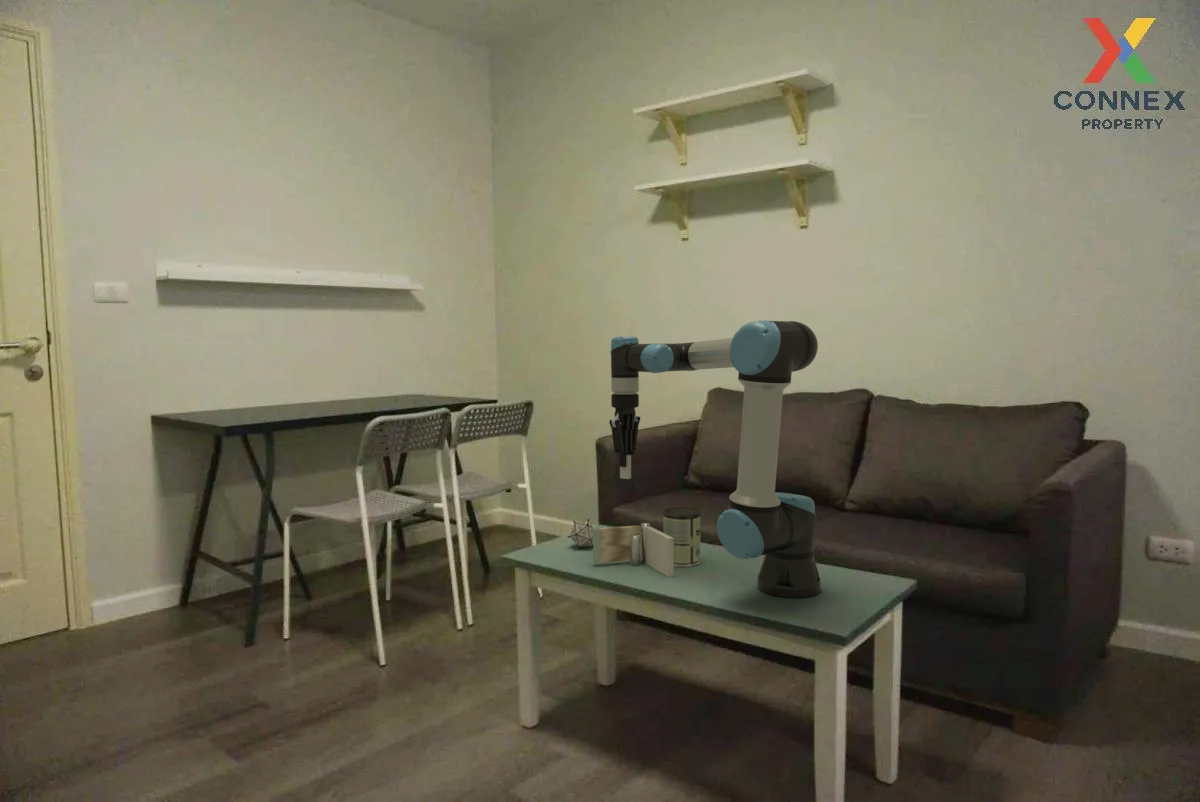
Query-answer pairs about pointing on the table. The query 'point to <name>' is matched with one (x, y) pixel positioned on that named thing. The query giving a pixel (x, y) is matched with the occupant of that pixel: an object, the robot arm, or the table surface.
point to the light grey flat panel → (659, 551)
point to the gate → (613, 543)
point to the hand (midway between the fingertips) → (625, 478)
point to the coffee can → (683, 534)
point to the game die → (582, 534)
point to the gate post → (643, 540)
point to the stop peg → (635, 550)
